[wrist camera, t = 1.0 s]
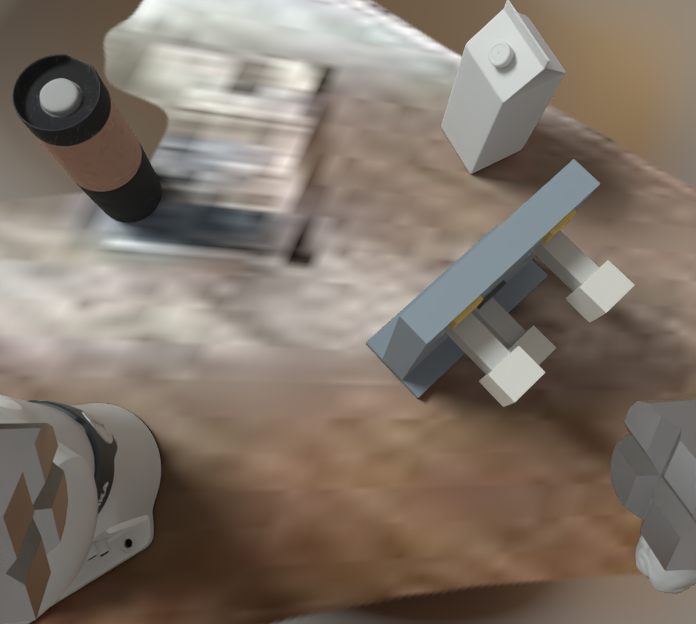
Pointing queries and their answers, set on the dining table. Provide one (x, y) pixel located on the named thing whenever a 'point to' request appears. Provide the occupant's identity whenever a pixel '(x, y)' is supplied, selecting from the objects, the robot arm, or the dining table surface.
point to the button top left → (496, 361)
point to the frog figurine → (662, 571)
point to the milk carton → (500, 90)
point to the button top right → (583, 277)
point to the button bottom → (513, 331)
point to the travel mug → (87, 135)
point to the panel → (479, 282)
